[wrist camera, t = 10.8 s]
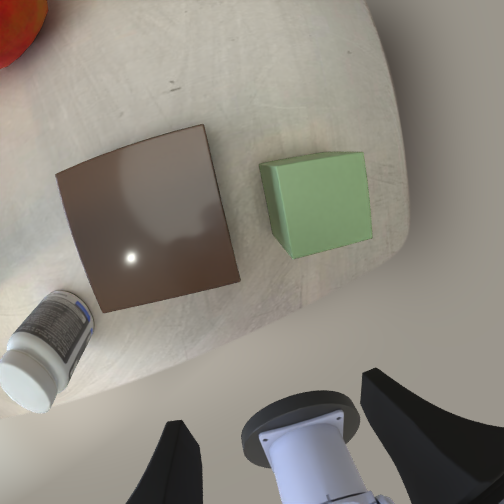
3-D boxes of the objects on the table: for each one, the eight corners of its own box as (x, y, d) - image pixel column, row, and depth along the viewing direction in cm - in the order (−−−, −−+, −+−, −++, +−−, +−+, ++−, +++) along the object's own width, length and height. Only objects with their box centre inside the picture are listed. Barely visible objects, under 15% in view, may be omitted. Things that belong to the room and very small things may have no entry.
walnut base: (234, 256, 18) (241, 282, 15) (120, 284, 18) (102, 314, 14) (205, 131, 16) (203, 123, 12) (84, 169, 15) (54, 174, 11)
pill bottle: (37, 289, 17) (-22, 351, 9) (86, 288, 18) (33, 362, 10) (54, 340, 18) (12, 410, 11) (101, 343, 19) (68, 424, 11)
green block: (338, 219, 19) (373, 238, 14) (272, 235, 18) (292, 259, 14) (328, 151, 17) (363, 151, 13) (258, 163, 17) (275, 166, 12)
